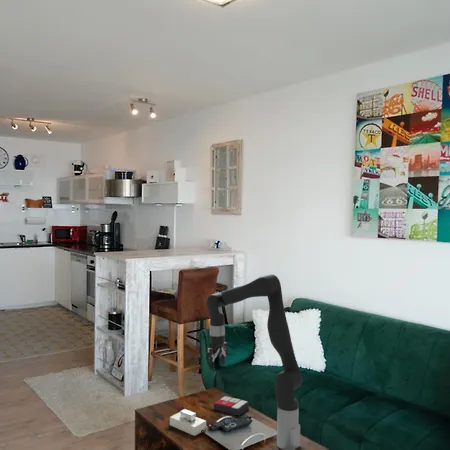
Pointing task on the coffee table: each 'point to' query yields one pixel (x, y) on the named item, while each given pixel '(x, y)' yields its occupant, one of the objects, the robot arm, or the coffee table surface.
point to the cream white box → (187, 424)
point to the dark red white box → (231, 405)
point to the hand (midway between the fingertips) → (217, 366)
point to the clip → (188, 415)
